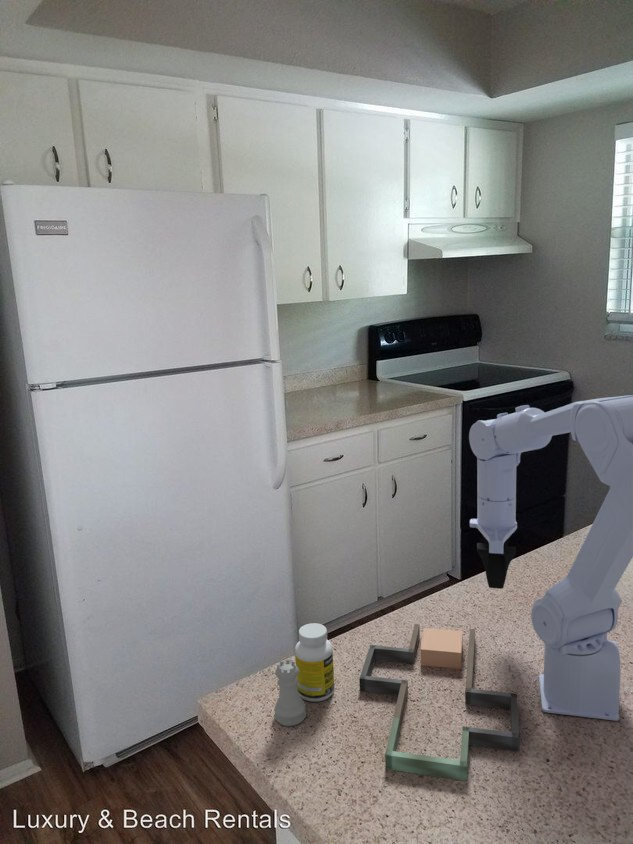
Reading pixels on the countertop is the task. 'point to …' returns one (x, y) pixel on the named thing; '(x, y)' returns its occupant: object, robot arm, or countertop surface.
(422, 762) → the box
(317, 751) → the countertop surface
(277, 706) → the rook chess piece
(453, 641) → the light orange-tan block
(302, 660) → the supplement bottle
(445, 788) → the countertop surface
